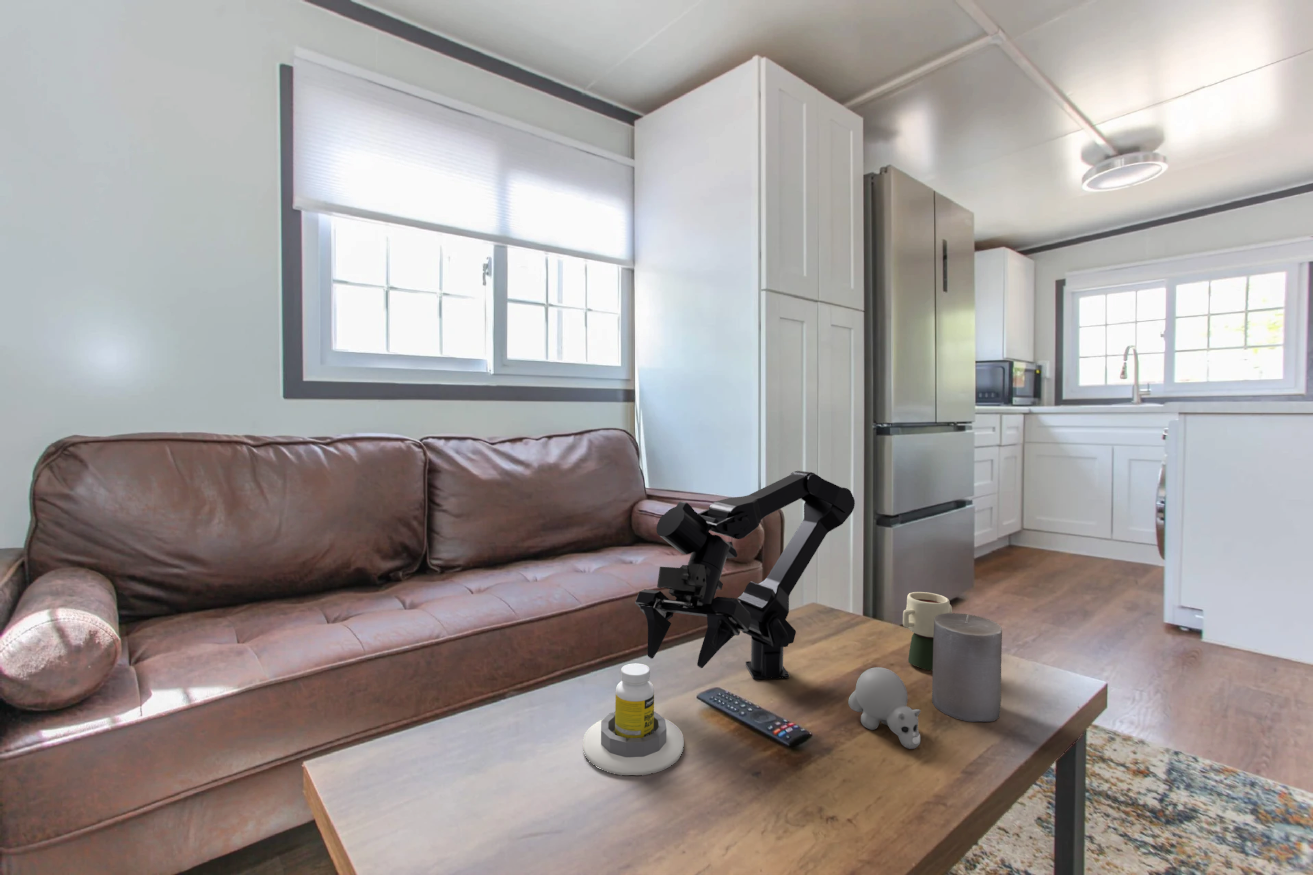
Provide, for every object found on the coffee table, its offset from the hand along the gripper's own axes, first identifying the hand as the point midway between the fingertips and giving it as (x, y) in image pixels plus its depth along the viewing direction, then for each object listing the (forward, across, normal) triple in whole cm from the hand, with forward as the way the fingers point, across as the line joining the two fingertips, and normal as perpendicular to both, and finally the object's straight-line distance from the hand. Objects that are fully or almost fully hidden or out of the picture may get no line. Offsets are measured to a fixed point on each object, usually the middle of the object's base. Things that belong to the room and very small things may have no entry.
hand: (674, 661), depth 89 cm
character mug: (-20, +24, +42) cm, 52 cm away
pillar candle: (-11, +33, +33) cm, 48 cm away
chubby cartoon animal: (-2, +25, +21) cm, 33 cm away
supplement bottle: (+12, -2, -1) cm, 12 cm away
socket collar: (+12, -2, -1) cm, 13 cm away
